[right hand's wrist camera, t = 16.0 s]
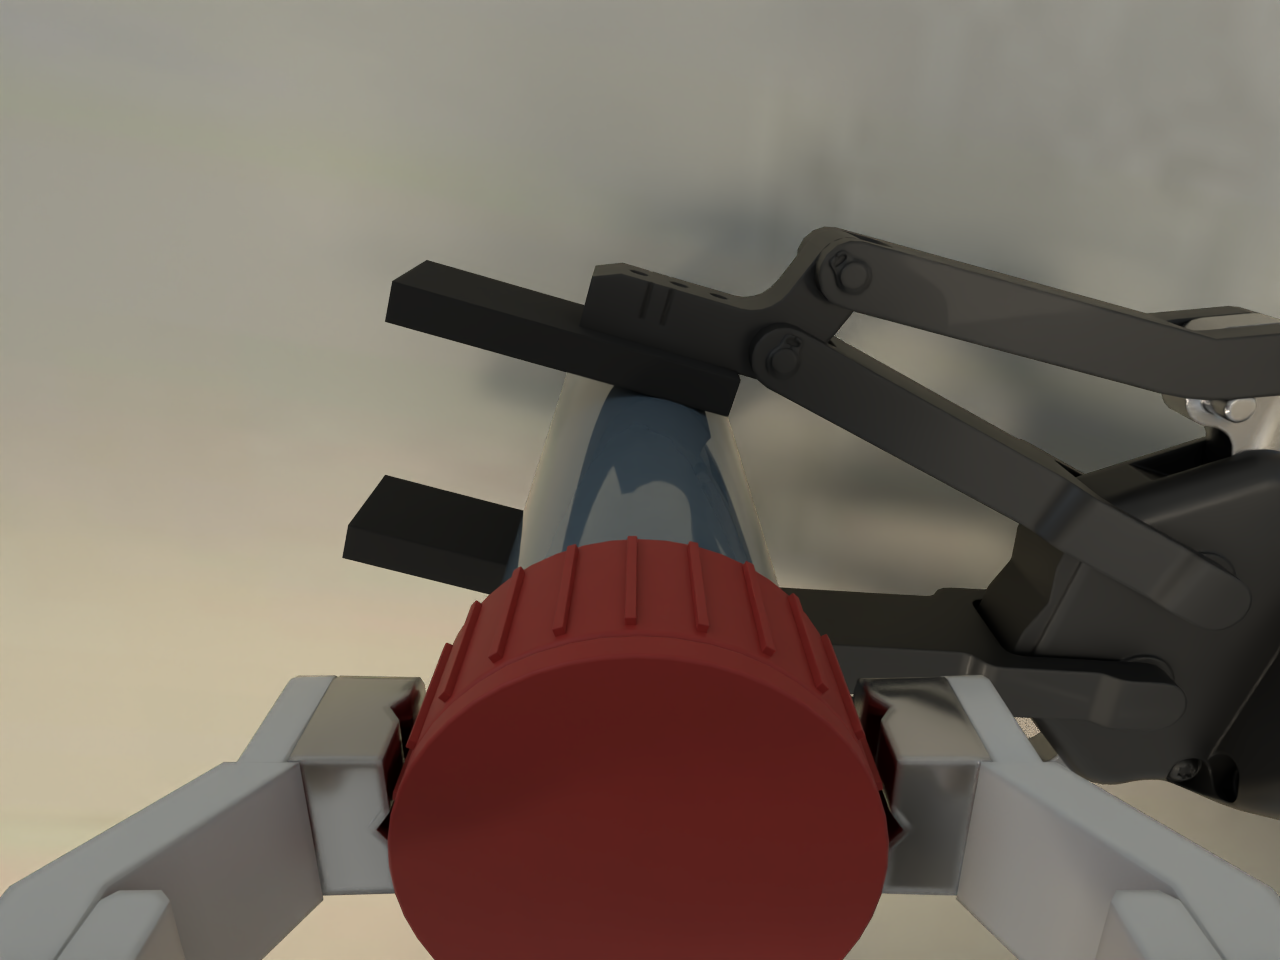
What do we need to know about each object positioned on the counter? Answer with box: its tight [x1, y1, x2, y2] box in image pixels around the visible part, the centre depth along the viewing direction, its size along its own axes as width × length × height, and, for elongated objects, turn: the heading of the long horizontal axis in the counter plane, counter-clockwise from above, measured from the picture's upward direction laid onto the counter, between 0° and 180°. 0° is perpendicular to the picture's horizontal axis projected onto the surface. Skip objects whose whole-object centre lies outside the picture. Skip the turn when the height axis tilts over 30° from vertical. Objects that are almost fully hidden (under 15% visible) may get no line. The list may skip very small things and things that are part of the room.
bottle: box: [500, 373, 779, 587], centre depth 17 cm, size 4×4×16 cm
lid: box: [387, 536, 889, 960], centre depth 10 cm, size 5×5×2 cm
